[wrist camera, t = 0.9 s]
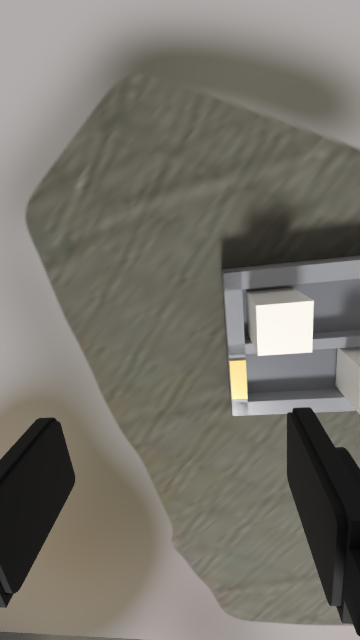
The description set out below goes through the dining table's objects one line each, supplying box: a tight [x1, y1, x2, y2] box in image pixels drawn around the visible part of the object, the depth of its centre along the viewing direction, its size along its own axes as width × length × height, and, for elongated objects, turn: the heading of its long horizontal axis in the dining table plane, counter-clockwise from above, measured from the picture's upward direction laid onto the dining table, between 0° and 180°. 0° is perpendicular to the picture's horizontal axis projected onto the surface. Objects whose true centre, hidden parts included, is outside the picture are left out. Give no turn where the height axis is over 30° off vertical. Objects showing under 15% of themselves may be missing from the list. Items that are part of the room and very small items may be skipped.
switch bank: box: [221, 255, 360, 416], centre depth 26 cm, size 14×16×3 cm
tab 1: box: [246, 287, 314, 356], centre depth 23 cm, size 4×4×5 cm
